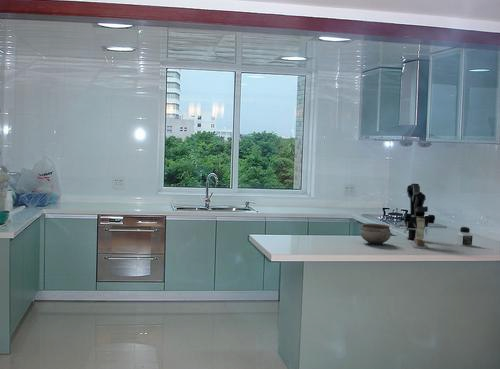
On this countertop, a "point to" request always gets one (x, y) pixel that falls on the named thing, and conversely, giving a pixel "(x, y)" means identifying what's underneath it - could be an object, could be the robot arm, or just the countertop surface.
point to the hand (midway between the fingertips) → (420, 228)
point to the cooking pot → (375, 233)
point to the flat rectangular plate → (419, 244)
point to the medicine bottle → (464, 237)
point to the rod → (420, 228)
